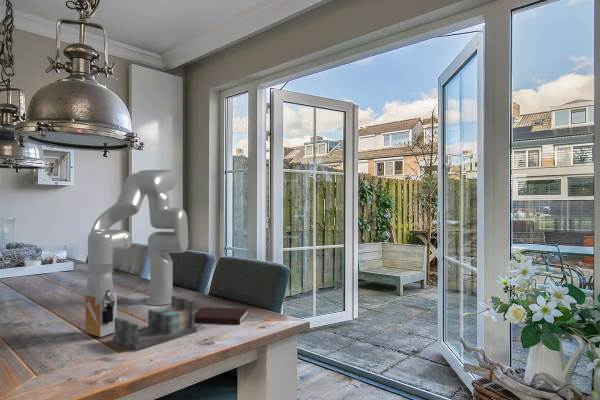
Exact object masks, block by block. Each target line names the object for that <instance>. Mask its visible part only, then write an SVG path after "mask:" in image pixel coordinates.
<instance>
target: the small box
mask: <svg viewBox="0 0 600 400" xmlns="http://www.w3.org/2000/svg"><path fill="white" fill-rule="evenodd" d="M84 296H85V333H86V334H90V335H93V336H96V337H99V338H102V337H105V336H108V335H111V334H114V333H115V318H118V316H117V315H118V314H117V313H118V311H117V310H118V308H117V307H118V305H117V303H118V302H117V300H118V299H117V293H114V298H115V303H114V309H113V321H112V322H109V323H105V324H104V323H103V314H102V312H103V311H104V310H103V303H102V304H101V305H97V304H95V297H93V296H90V295H87V294H85V295H84ZM106 301H109V300H108V298H107V297H106V298H105V300H104V302H106ZM108 304H109V303H108ZM108 304H105V305H106V307H107V305H108Z"/></svg>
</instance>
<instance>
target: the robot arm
mask: <svg viewBox="0 0 600 400" xmlns="http://www.w3.org/2000/svg"><path fill="white" fill-rule="evenodd" d="M177 184H178V176H177V174H176V172H175V171H174V170H171V169H143V170H139V171H137V172H136V173H135V172H134V173H132V174H129V175H128V176H127V177H126V179H125V181H124V184H123V187H122V189H121V191H120V193H119V195H118V198H117V201H116V202H115V203H114V204H112V206H110V207H108V209H106V210H105V211H104V212H103V213H101V215H99V216H98V217H97V218H96V220H95V221H94V224H93V226H92V227H91V231H90V232H89V234H88V235H87V283H86V295H90V296H93V297H95V304H97V305H101V304H102V303H103V310H104V311H103V312H102V314H103V323H104V324H105V323H109V322H112V321H113V309H114V303H115V298H114V294H115V291H114V280H113V273H114V258H113V257H114V256H113V255H114V252H123V251H126V250H127V249H129V248H130V247H131V246H132V243H133V236H132V234H131V233H130V232H129V231H127V230H123V229H110V228H111V227H112V226H114V225H115V224H117V223H118V222H120V221H124V220H126V219H128V218H130V217H132V216H133V217H134V216H135V215H137V214H138V212H139V211H140V209H141V206H142V204H143V201H144V199H145V197H147V199H148V209H149V213H148V214H149V223H150V226H151V227H152V228H154V229H159V230H160V231H155V232H152V233H150V235H148V238H147V247H148V251H149V263H150V264H149V266H150V267H149V272H150V273H149V277H150V278H149V281H150V282H149V285H150V286H149V287H150V288H149V291H148V292H147V296H149V298H148V299H146V304H147V305H149V306H163V305H169V304H172V296H174V294H173V293H174V291H173V288H174V286H173V283H174V281H173V279H174V278H173V276H174V275H173V273H174V272H173V269H174V266H173V265H174V264H173V263H174V262H173V260H172V257H171V256H170V254H182V253H185V252H187V250H188V247H189V229H188V227H189V226H188V215H187V212H186V211H185V210H184V208H181V207H171V205H170V200H169V199H170V198H169V194H168V193H167V192H170V191H172V190H173V189H175V188H176V186H177ZM161 230H165V231H161ZM166 230H173V231H166ZM106 297H107V298H108V300H109V301H106V302H104V300H105V298H106ZM108 303H109V304H108ZM105 304H108V305H107V307H106V305H105Z"/></svg>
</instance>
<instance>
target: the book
mask: <svg viewBox="0 0 600 400" xmlns="http://www.w3.org/2000/svg"><path fill="white" fill-rule="evenodd" d="M248 312H249V308H247V307H243V308H241V307H213V306H212V307H207V306H206V307H200V309H198V310H197V311H195V324H197V323H198V324H217V325H218V324H220V325H236V326H237V325H238V326H239V325H241V323H243V322H244V321H245V320H246V319H247V318H248V317H249V313H248Z"/></svg>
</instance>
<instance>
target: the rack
mask: <svg viewBox="0 0 600 400" xmlns="http://www.w3.org/2000/svg"><path fill="white" fill-rule="evenodd" d="M195 303H196V302H195V300H192V299H189V298H186V297H185V298H184V297H181V296H177V295H173V296H172V303H171V306H169V307H167V308H165V307H160V308H156V309H148V317H147V318H148V319H147V320H148V322H147V323H148V326H145V327H142V328H139V324H137V323H135V322H132V321H129V320H126V319H124V318H121V317H118V316H117V318H115V332H114V335H113V336H112V337H113V339H112V341H113V342H115V343H116V344H120V345H121V346H123V347H126V348H128V349H130V350H132V351H135V352H138V351H141V350H144V349H147V348H150V347H154V346H156V345H160V344H163V343H166V342H169V341H171V340H174V339H178V338H181V337H184V336H188V335H190V334H193V333H196V332H197V326H195V325H196V323H195V312H196V309H195V307H196V306H195Z"/></svg>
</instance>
